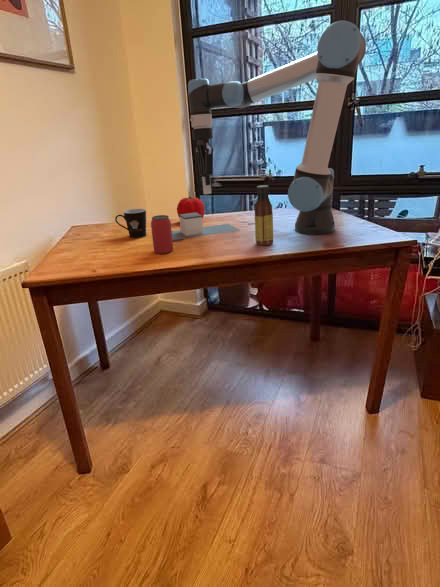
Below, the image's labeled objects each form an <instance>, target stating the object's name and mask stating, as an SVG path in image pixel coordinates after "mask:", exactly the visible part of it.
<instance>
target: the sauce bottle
mask: <svg viewBox="0 0 440 587" xmlns="http://www.w3.org/2000/svg"><path fill="white" fill-rule="evenodd" d="M269 188H270V187H269V185H268V184H267V185H266V184H263V185H257V186H256V193H257V196H256V199H257V200H256V202H255V204H254V232H255V234H254V235H255V243H256V245H258V246H265V247H266V246H270V245H273V244H274V215H273V205H272V203H271V200H270V199H269V198H270V197H269V190H270V189H269Z"/></svg>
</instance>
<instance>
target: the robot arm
mask: <svg viewBox="0 0 440 587" xmlns="http://www.w3.org/2000/svg"><path fill="white" fill-rule="evenodd" d="M366 48H367V45H366V40H365V37H364V35H363V33H361V30H360V28H359V27H358V25H357V24H355V23H353V22H351V21H348V20H337V21H335V22H333V23H331V24H329V25H328V26H327V27H326V28H325V29H324V30H323V31H322V33H321V35H320V36H319V39H318V41H317V46H316V52H313V53H311V54H309V55H306V56H304V57H302V58H299V59H296V60H294V61H291V62H290V63H289V62H288V64H287V63H286V64H285V65H282V66H279V67H277V68H275V69H273V70H270V71H268V72H266V73H264V74H260V75H258V76H256V77H253V78H251V79H249V80H247V81H244V82H242V83H241V82H240V81H238V80H234V81H233V80H230V81H229V80H228V81H225V82H219V83H213V84H212V83H210V81H209V79H207V78H195V79H190V80H189V81H188V84H187V88H188V90H187V92H188V94H187V96H188V102H189V110H190V119H189V121H190V122H191V128H193V129H192V130H191V133H192V135H191V137H192V140H193V141H195V140H196V141H197V142H196V148H194V151H195V152H194V153H195V155H196V160H197V167H198V173H199V175H201V179H202V181H201V182H202V191H203V195H209V194H212V185H211V184H212V183H211V177H212V175H213V163H214V162H213V156H214V147H211V144H210V140H211V139H213V138H214V131H213V128H212V127H213V117H212V109H218V108H219V109H220V108H235V109H237V108H238V109H244V108H248V107H249V106H251V105H252V104H254V103H256V102H259V101H261V100H264V99H266V98H269V97H272V96H274V95H278V94H280V93H282V92H286V91H288V90H290V89H293V88H295V87H298V86H301V85H304V84H307V83H309V82H311V81H314V80H317V81H318V84H317V87H316V88H317V89H316V94H315V98H314V103H313V108H312V112H311V118H310V122H309V126H308V131H307V136H306V140H305V145H304V146H305V147H304V149H303V155H302V159H301V162H300V163H299V164H298V165H297V166H296V167H295V172H294V176H293V181H291V184H289V187H288V191H287V199H288V201H289V203H290V205H291V206H292V207H293V208H294V209H295V210H298V212H299V213H298V214H297V216H296V217H297V218H296V221H295V224H294V231H296V232H298V233H300V234H304V235H305V234H306V235H323V234H324V235H325V234H330V233H333V232H334V231H335V229H336V224H335V218H334V215H333V211H332V210H333V209H332V206H333V205H332V204H333V193H334V179H335V171H334V169H333V168H329V167H328V166H329V162H330V158H331V153H332V151H333V145H334V141H335V139H336V138H335V137H336V133H337V129H338V125H339V120H340V117H341V112H342V108H343V104H344V101H345V96H346V91H347V87H348V85H349V84H350V83H352V81H354V79H355V77H356V72H357V68H358V66H359V65H360V64H361V63H362V61H363V59H364V57H365V54H366Z"/></svg>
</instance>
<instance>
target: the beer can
mask: <svg viewBox="0 0 440 587" xmlns="http://www.w3.org/2000/svg"><path fill="white" fill-rule="evenodd" d="M171 222H172V221H171V220H170V218H169V215H166V214H165V215H163V214H160V215H154V216H151V221H150V228H151V236H152V245H153V246H152V247H153V252H154V253H155V254H158V255H166V254H170V253H172V252H173V251H174V242H173V241H172V231H173V230H172V223H171Z"/></svg>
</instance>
